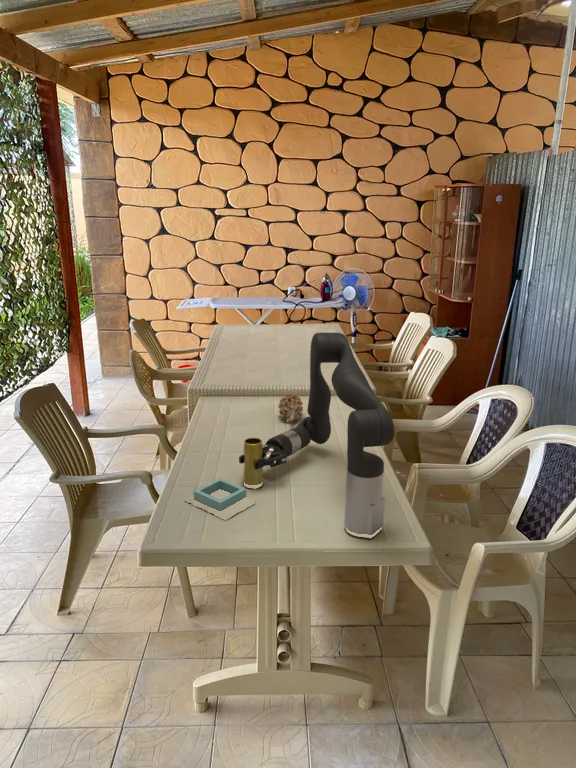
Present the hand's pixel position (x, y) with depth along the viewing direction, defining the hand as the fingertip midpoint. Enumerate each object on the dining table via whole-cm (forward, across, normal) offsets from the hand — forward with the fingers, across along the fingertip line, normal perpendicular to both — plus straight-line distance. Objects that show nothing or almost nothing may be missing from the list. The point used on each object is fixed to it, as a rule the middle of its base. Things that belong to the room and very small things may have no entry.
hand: (247, 463), depth 179 cm
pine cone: (-49, -22, +8) cm, 54 cm away
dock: (+11, 0, +8) cm, 14 cm away
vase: (-3, 0, +8) cm, 9 cm away
